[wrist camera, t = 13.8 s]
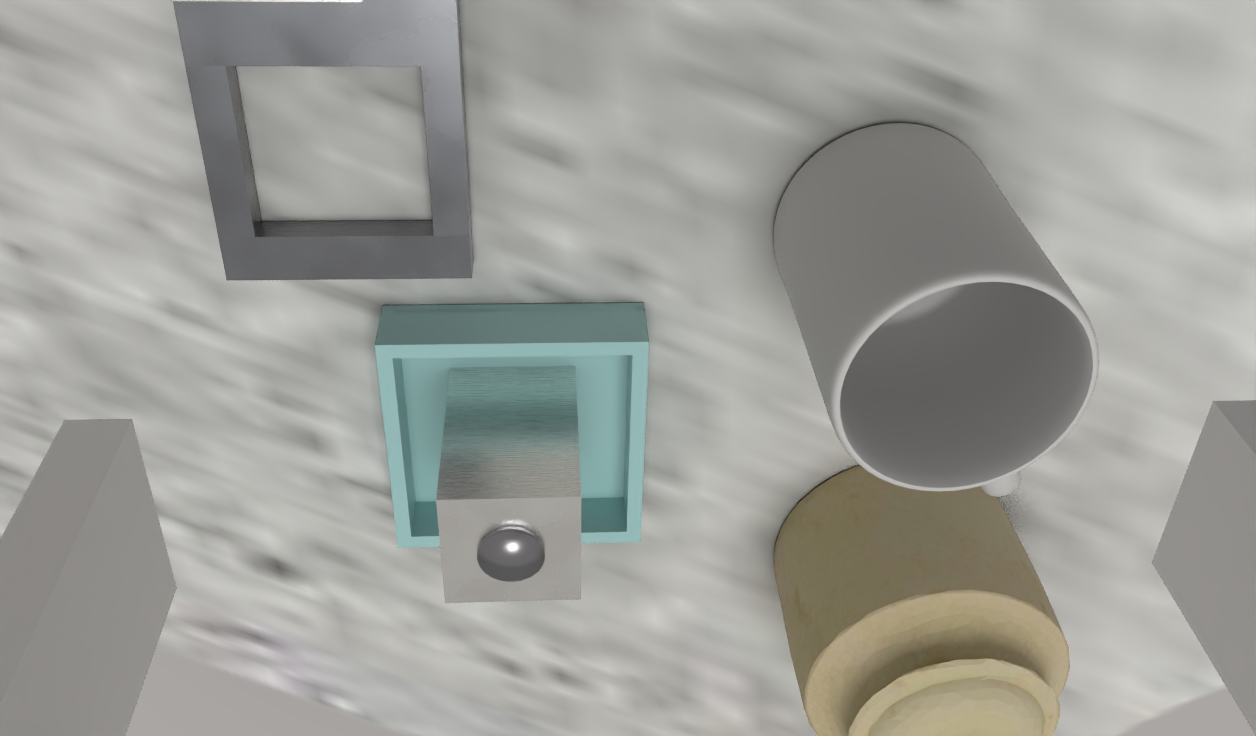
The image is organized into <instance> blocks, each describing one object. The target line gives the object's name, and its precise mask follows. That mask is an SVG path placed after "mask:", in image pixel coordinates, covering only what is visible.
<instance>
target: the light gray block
mask: <svg viewBox="0 0 1256 736" xmlns="http://www.w3.org/2000/svg"><path fill="white" fill-rule="evenodd" d="M170 1H232V2H362V1H363V0H170Z"/></svg>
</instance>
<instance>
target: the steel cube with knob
mask: <svg viewBox="0 0 1256 736" xmlns="http://www.w3.org/2000/svg"><path fill="white" fill-rule="evenodd" d="M436 505H437V517H438V528H439V539H440V550H441V562H442V573H443V584H444V596H445V603H464V602H500V601H537V600H573V599H581V479H580V457H579V434H578V412H577V390H576V368H575V366H530V367H462V368H450V374H449V383H448V393H447V402H446V411H445V421H444V430H443V440H442V449H441V458H440V468H439V477H438V486H437V496H436Z"/></svg>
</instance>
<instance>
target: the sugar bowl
mask: <svg viewBox="0 0 1256 736" xmlns="http://www.w3.org/2000/svg"><path fill="white" fill-rule="evenodd" d="M774 568H775V575H776V581H777V586H778V591H779V596H780V601H781V607H782V612H783V617H784V623H785V628H786V633H787V638H788V643H789V648H790V652H791V657H792V661H793V665H794V669H795V673H796V677H797V681H798V685H799V689H800V693H801V697H802V702H803V706H804V709H805V712H806V715H807V718H808V720H809V723H810V725H811V727H812V728H813V729H814V731H815V732H816V733H817V735H818V736H1052V735H1053V733H1054V731H1055V729H1056V726H1057V723H1058V719H1059V716H1060V704H1059V701H1058V697H1059V696H1060V694H1061V692H1062V690H1063V689H1064V686H1065V683H1066V681H1067V677H1068V672H1069V668H1070V664H1069V649H1068V645H1067V642H1066V640H1065V637H1064V635H1063V632H1062V630H1061V627H1060V625H1059V623H1058V620H1057V618H1056V615H1055V613H1054V611H1053V609H1052V606H1051V604H1050V602H1049V600H1048V597H1047V595H1046V593H1045V590H1044V588H1043V586H1042V584H1041V582H1040V580H1039V577H1038V575H1037V573H1036V571H1035V569H1034V567H1033V565H1032V563H1031V561H1030V559H1029V557H1028V555H1027V553H1026V551H1025V549H1024V547H1023V545H1022V543H1021V542H1020V540H1019V538H1018V536H1017V534H1016V532H1015V530H1014V528H1013V526H1012V524H1011V523H1010V521H1009V519H1008V517H1007V515H1006V513H1005V511H1004V509H1003V507H1002V505H1001V503H1000V501H999V500H998V498H997V497H996V496H990V495H989V494H987V493H985V492H984V491H983V489H982V488H981V486H978V487H974V488H970V489H963V490H956V491H922V490H916V489H910V488H905V487H901V486H898V485H894V484H891V483H889V482H887V481H885V480H882V479H880V478H878V477H876V476H875V475H873V474H871V473H870V472H868V471H867V470H865V469H864V468H863V467H862V466H860V465H859V466H856V467H853V468H851V469H849V470H846V471H844V472H842V473H840V474H837V475H835V476H834V477H832V478H830V479H829V480H827V481H826V482H824V483H823V484H821V485H820V486H818V487H817V488H815V489H814V490H812V491H811V492H810V493H809V494H808V495H807V496H806V497H805V498H803V499H802V500H801V501H800V502H799V503H798V504H797V505H796V507H795V508H794V509H793V510H792V512H791V513H790V514H789V515H788V517H787V519H786V520H785V522H784V524H783V526H782V527H781V530H780V533H779V536H778V539H777V542H776V546H775V552H774Z"/></svg>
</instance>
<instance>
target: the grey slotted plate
mask: <svg viewBox="0 0 1256 736" xmlns="http://www.w3.org/2000/svg"><path fill="white" fill-rule="evenodd" d="M173 4H174V9H175V14H176V19H177V24H178V30H179V35H180V40H181V45H182V50H183V56H184V61H185V66H186V71H187V76H188V82H189V87H190V92H191V97H192V102H193V107H194V113H195V118H196V123H197V128H198V133H199V139H200V144H201V149H202V154H203V159H204V165H205V170H206V175H207V180H208V185H209V190H210V196H211V201H212V206H213V211H214V216H215V222H216V227H217V232H218V237H219V242H220V248H221V253H222V258H223V263H224V268H225V273H226V279H227V280H317V279H428V278H472V272H473V246H472V228H471V210H470V192H469V174H468V156H467V138H466V120H465V102H464V84H463V66H462V48H461V30H460V12H459V0H363V1H362V2H232V1H173ZM235 66H421V76H422V89H423V102H424V115H425V128H426V141H427V154H428V168H429V181H430V194H431V207H432V220H421V221H261V215H260V209H259V203H258V197H257V192H256V186H255V180H254V174H253V168H252V162H251V156H250V150H249V144H248V138H247V132H246V126H245V120H244V114H243V108H242V102H241V96H240V90H239V84H238V78H237V72H236V67H235Z"/></svg>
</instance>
